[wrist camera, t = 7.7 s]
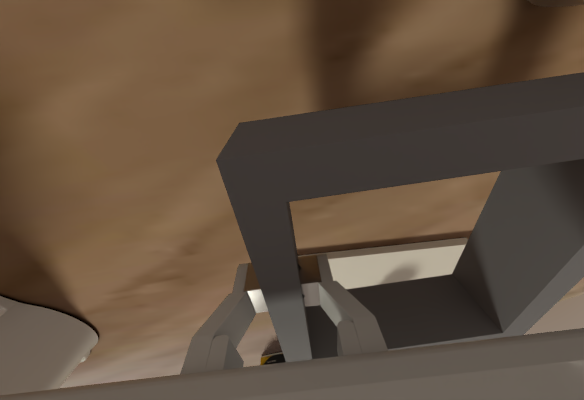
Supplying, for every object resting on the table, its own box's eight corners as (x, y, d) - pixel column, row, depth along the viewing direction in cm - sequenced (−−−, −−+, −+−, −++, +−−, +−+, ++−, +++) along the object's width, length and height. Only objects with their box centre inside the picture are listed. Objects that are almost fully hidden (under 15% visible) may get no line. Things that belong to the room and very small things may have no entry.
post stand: (306, 335, 35) (311, 389, 29) (293, 256, 24) (296, 316, 18) (424, 324, 35) (453, 376, 29) (465, 237, 24) (526, 294, 18)
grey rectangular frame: (286, 309, 16) (290, 373, 13) (239, 123, 8) (216, 159, 5) (465, 283, 16) (516, 341, 13) (582, 72, 8) (793, 75, 5)
